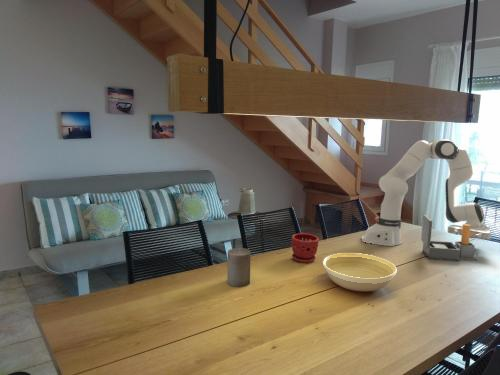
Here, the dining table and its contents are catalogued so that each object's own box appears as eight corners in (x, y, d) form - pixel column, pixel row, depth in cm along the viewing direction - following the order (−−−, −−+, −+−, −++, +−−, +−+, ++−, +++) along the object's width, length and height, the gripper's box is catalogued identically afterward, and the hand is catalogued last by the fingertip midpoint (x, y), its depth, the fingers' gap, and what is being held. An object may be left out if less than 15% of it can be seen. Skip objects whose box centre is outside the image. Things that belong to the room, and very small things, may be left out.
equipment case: (426, 258, 196) (429, 220, 193) (420, 250, 210) (423, 214, 207) (458, 261, 193) (462, 222, 190) (450, 252, 207) (453, 216, 204)
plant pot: (289, 263, 186) (290, 239, 185) (292, 254, 199) (293, 232, 197) (316, 265, 183) (317, 241, 182) (318, 257, 196) (319, 234, 194)
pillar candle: (252, 279, 165) (253, 246, 163) (246, 288, 156) (247, 253, 153) (231, 277, 167) (231, 243, 165) (223, 285, 158) (224, 250, 156)
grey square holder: (456, 258, 197) (457, 245, 196) (450, 252, 207) (451, 240, 206) (477, 260, 195) (478, 247, 194) (470, 254, 205) (471, 241, 204)
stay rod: (461, 255, 199) (464, 225, 197) (458, 253, 203) (461, 224, 200) (468, 256, 199) (471, 226, 196) (466, 254, 202) (469, 224, 200)
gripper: (450, 221, 216) (445, 225, 206) (493, 227, 204) (489, 232, 193) (449, 231, 217) (443, 236, 207) (491, 238, 205) (488, 244, 194)
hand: (466, 234), depth 200 cm, fingers open, 8 cm apart
